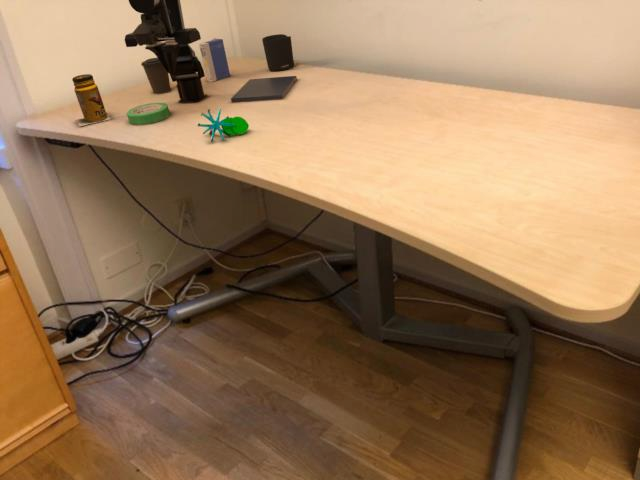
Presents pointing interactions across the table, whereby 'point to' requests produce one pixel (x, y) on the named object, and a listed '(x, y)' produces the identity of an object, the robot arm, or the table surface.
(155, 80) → the coffee cup
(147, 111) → the tape roll
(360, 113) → the table surface
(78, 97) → the condiment
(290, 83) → the notebook
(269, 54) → the black speaker
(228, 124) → the stick construction toy
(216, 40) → the blue white rectangular box
